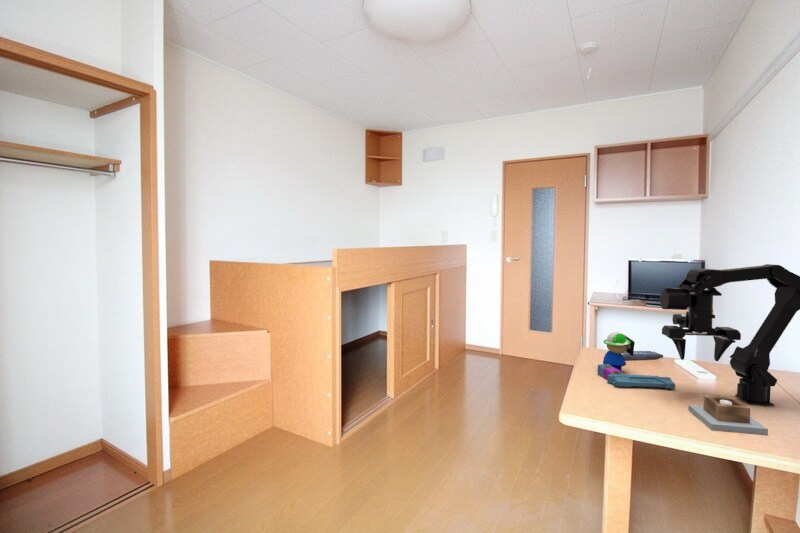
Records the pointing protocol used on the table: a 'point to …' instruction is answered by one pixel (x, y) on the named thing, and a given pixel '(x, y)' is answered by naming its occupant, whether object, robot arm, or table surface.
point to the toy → (617, 349)
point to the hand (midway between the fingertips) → (699, 360)
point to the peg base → (727, 426)
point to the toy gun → (632, 378)
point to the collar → (726, 409)
